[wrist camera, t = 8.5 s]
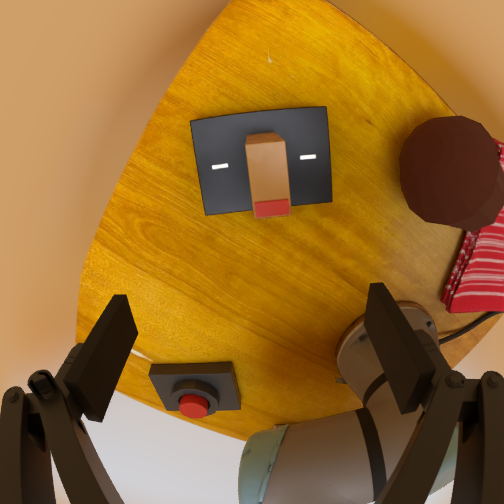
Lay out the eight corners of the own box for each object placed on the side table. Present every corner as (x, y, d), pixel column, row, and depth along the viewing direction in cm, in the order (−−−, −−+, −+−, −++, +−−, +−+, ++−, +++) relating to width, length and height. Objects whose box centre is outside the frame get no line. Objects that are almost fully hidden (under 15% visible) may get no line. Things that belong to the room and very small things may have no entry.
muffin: (417, 209, 33) (362, 176, 29) (459, 134, 29) (411, 87, 25) (483, 267, 24) (439, 238, 20) (536, 175, 19) (505, 117, 15)
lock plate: (319, 106, 27) (327, 106, 24) (325, 193, 31) (333, 202, 28) (195, 119, 28) (189, 120, 25) (209, 206, 32) (205, 216, 29)
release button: (204, 393, 39) (203, 402, 38) (211, 409, 41) (210, 418, 39) (177, 393, 39) (175, 402, 38) (184, 409, 41) (183, 418, 40)
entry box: (231, 361, 41) (230, 382, 38) (241, 399, 45) (240, 419, 42) (151, 364, 42) (145, 384, 38) (169, 400, 46) (164, 419, 42)
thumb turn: (246, 134, 26) (244, 145, 18) (275, 131, 25) (285, 140, 18) (253, 189, 28) (254, 220, 20) (280, 186, 28) (292, 216, 20)
